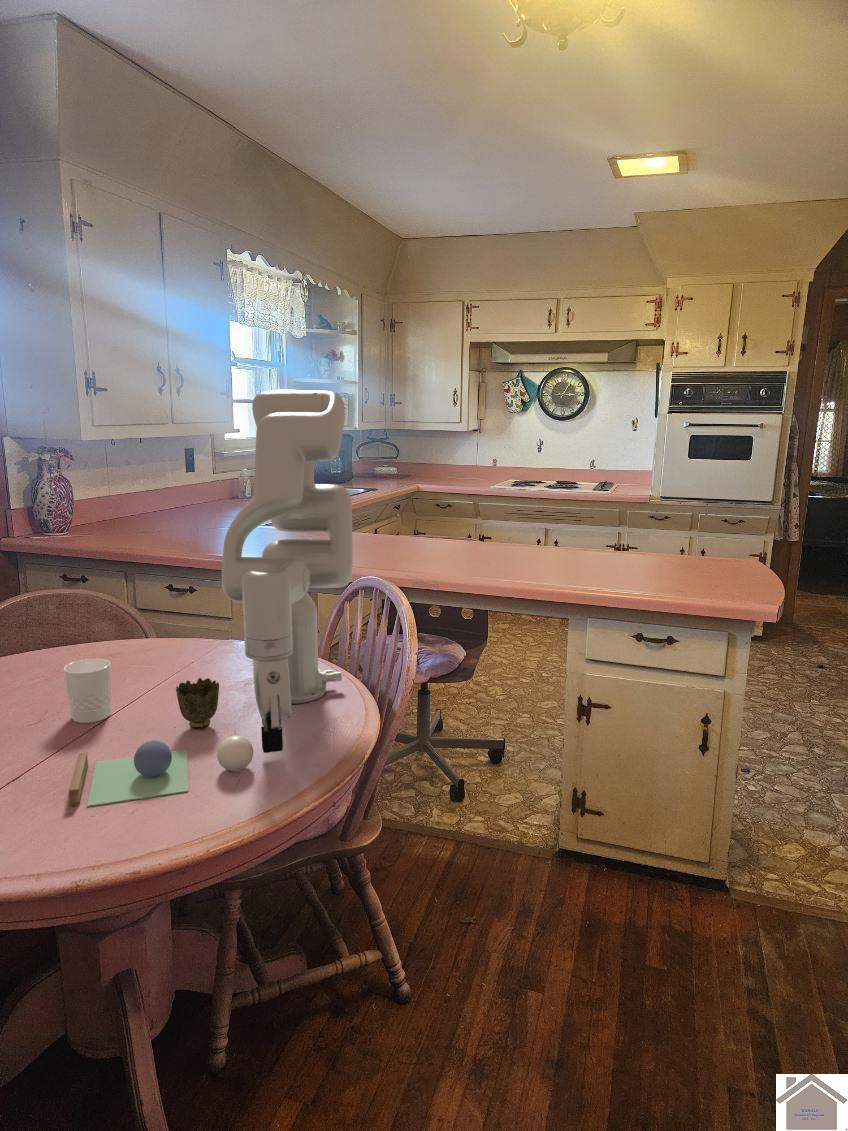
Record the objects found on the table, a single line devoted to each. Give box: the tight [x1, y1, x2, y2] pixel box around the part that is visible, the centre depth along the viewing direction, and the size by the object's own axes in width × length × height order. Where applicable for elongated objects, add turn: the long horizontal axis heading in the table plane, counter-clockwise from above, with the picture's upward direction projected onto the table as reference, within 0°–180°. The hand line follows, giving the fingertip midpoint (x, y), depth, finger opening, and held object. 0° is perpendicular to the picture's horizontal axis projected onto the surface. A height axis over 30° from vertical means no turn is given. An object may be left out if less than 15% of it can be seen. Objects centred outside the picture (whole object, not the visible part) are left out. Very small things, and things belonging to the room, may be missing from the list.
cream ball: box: [216, 734, 254, 772], centre depth 116 cm, size 6×6×6 cm
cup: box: [175, 677, 220, 731], centre depth 130 cm, size 8×7×8 cm
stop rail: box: [68, 752, 89, 807], centre depth 110 cm, size 1×12×2 cm, turn 19°
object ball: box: [133, 739, 172, 777], centre depth 113 cm, size 6×6×6 cm
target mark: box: [86, 749, 189, 808], centre depth 113 cm, size 14×14×1 cm
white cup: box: [62, 657, 112, 724], centre depth 134 cm, size 8×8×10 cm
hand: (272, 749), depth 120 cm, fingers closed
